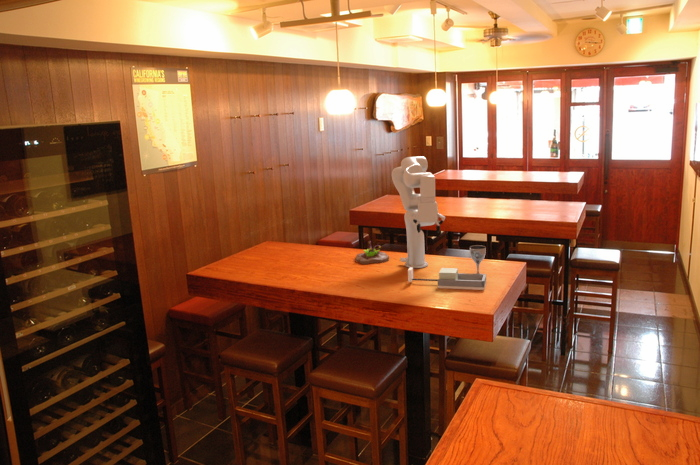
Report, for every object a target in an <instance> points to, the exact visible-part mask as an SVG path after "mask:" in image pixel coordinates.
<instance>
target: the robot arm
mask: <svg viewBox="0 0 700 465" xmlns="http://www.w3.org/2000/svg"><path fill="white" fill-rule="evenodd" d="M428 167H429V166H428V160H427V158H426V157H425V156H423V155H422V156H421V155H420V156H419V155H418V156H407V157H404V158H403V159H402V160H401V161H400V166H398V167H394V168H392V169H393V170H392V171H391V179H392V183H393V186H394V187H395V189H396V190H397V192H398V193H399V196H400V201H401V204H402V206H403V208H404V210H405V211H406V212H405V213H404V218H403V219H404V224H405V229H406V249H407V253H406V254H407V256H406V257H400V259H399V260H400V262H401V263H404V266H405V267H406V268H408V269H409V268H410V267H413V269H422V268H423V269H424V268H426V267H427V266H429V263H428V262H427V261H426V256H425V255H426V253H425V252H426V251H425V233H424V231H423V230H422V229H421V227H428V226H433V225H436V227H435V228H436V231H435V232H436V234H437V235H438V234H439V233H440V232H441V225H442V224H443V223H444V221H445V219H446V216H445V215H443V214H441V213H439V208H438V202H437V201H436V176H435V175H434V174H433V173H432V172H430V171H427V170H428ZM416 188H417V189H418V188H419V193H416V192H415V189H416ZM439 218H441V220H439Z"/></svg>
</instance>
